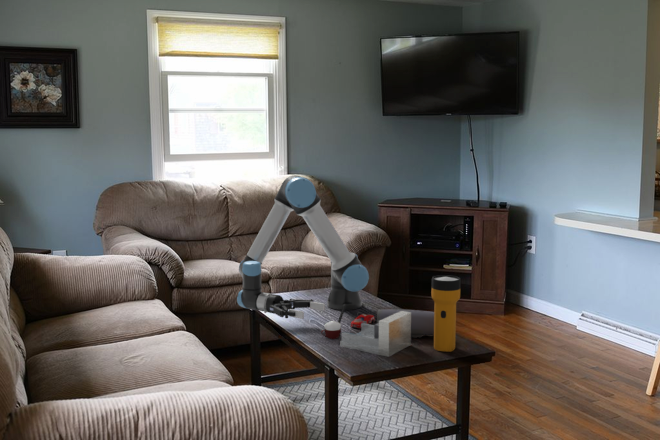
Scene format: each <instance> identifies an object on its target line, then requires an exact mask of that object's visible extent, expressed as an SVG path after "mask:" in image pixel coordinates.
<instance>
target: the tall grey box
mask: <svg viewBox="0 0 660 440" xmlns="http://www.w3.org/2000/svg"><path fill="white" fill-rule="evenodd" d="M373 325H374V338H378V339H379V323H377V322H376V323H375V324H373Z"/></svg>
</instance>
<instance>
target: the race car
mask: <svg viewBox="0 0 660 440" xmlns="http://www.w3.org/2000/svg"><path fill="white" fill-rule="evenodd" d="M375 319H376V318H375V315H373V314H369V313H362V314H359V315H358V316H357V317H354V320H352V321H351V322H350V327H351V328H354V329H361V324H362V323H364V324H370V325H374V323H375Z"/></svg>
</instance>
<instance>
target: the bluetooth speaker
mask: <svg viewBox="0 0 660 440" xmlns="http://www.w3.org/2000/svg"><path fill="white" fill-rule="evenodd" d="M400 311H406V312H411V338H417V337H419V338H422V337H423V336H434V311H429V310H428V311H427V310H419V309H417V310H415V309H398V308H397V309H391V308H389V309H387V308H386V309H385V308H384V309H378V310H377V318H376V324H377V323H379V321H380V320H382V319H384V318H387V317H389V316H391V315H393V314H395V313H398V312H400Z"/></svg>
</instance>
